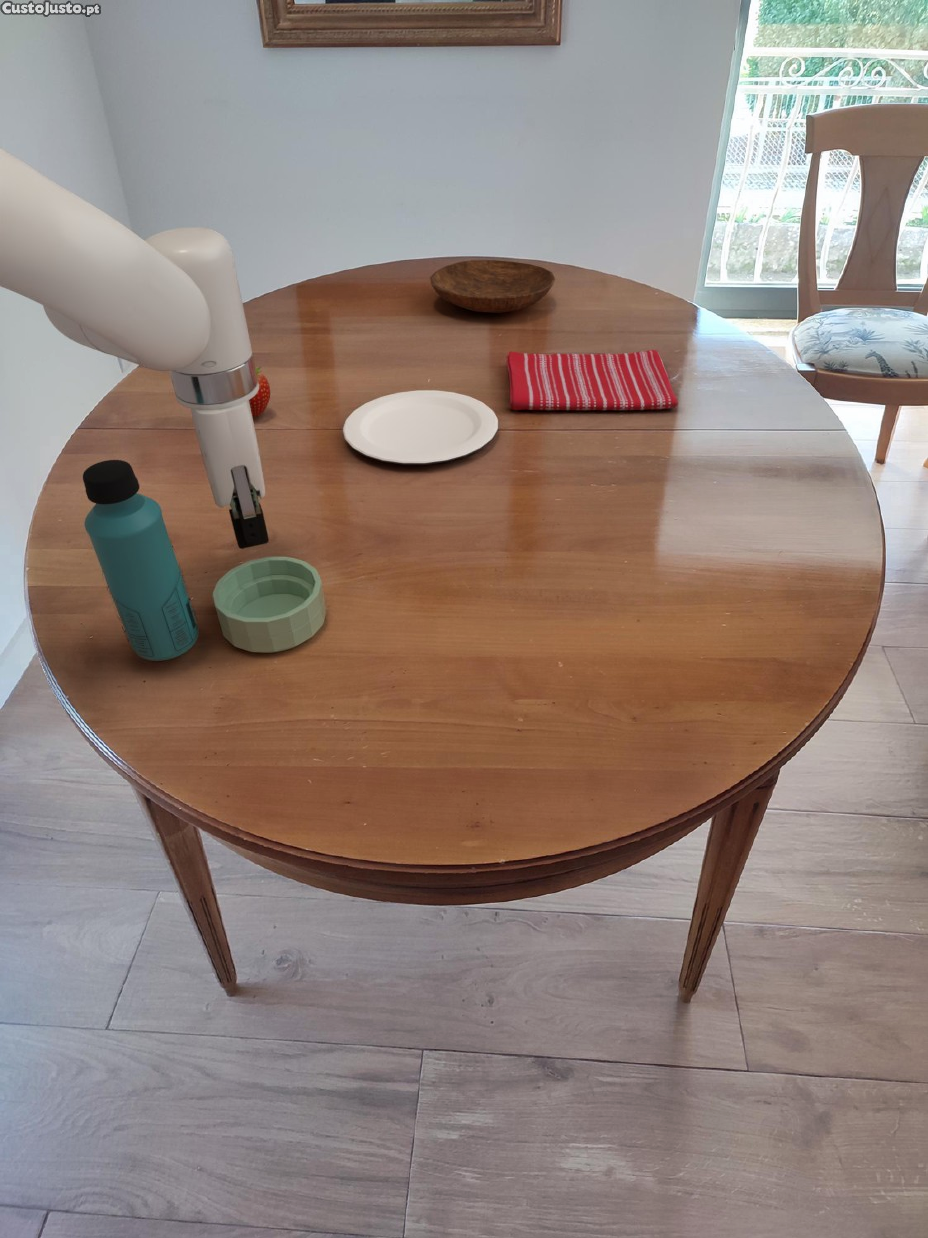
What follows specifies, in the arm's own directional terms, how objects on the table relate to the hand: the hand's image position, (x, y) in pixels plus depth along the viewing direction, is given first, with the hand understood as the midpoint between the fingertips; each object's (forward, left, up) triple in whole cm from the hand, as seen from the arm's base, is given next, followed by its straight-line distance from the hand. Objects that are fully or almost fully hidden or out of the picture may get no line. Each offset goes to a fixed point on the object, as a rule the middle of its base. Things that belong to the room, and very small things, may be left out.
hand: (252, 541), depth 89 cm
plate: (+26, +22, -4) cm, 34 cm away
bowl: (+53, +63, -4) cm, 82 cm away
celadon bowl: (0, -10, -3) cm, 11 cm away
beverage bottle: (-10, -10, -4) cm, 15 cm away
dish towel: (+53, +26, -4) cm, 59 cm away
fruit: (+6, +36, -4) cm, 37 cm away
